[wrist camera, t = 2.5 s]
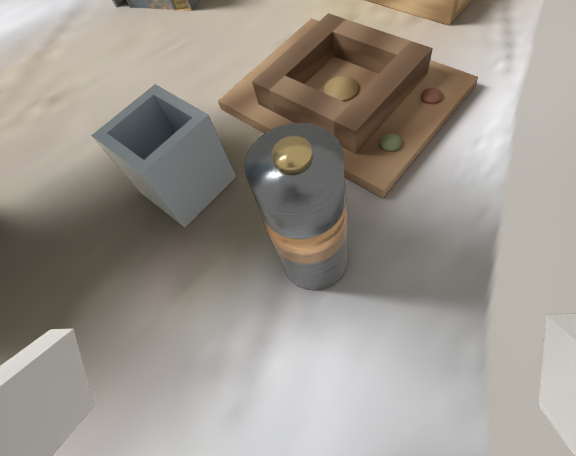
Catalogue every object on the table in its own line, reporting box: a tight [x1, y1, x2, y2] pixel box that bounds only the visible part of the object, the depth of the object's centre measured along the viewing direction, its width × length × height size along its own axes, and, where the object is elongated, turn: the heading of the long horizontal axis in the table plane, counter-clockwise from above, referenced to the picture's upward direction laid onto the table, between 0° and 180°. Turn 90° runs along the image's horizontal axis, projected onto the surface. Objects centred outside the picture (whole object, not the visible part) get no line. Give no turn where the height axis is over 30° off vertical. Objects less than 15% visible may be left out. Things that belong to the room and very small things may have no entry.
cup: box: [92, 84, 236, 228], centre depth 29 cm, size 6×6×7 cm
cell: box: [245, 123, 348, 290], centre depth 22 cm, size 5×5×12 cm
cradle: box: [218, 13, 478, 198], centre depth 33 cm, size 18×14×4 cm
